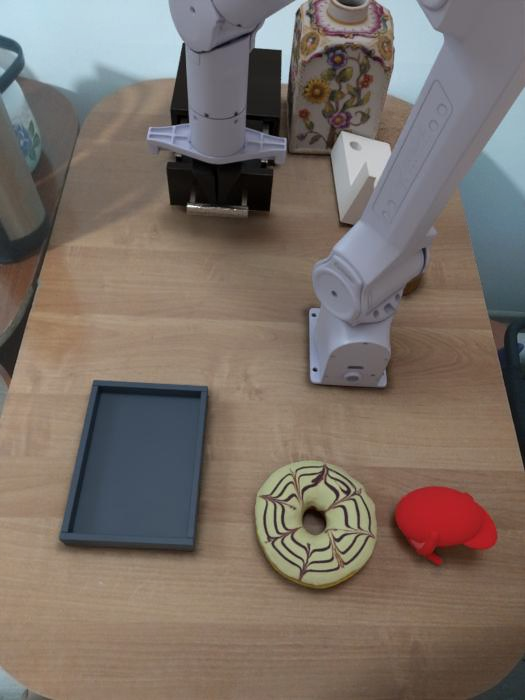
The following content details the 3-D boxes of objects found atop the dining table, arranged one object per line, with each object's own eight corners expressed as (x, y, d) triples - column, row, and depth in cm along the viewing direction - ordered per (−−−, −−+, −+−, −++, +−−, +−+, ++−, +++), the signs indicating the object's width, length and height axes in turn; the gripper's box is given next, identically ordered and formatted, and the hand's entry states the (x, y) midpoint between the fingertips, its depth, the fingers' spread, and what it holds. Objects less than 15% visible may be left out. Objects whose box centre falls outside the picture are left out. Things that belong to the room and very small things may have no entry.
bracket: (391, 233, 72) (423, 189, 65) (340, 221, 69) (369, 175, 63) (376, 164, 78) (404, 118, 72) (330, 152, 76) (355, 104, 70)
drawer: (269, 237, 67) (272, 201, 62) (165, 231, 67) (161, 194, 62) (272, 141, 77) (275, 103, 72) (181, 135, 76) (178, 96, 71)
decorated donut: (331, 451, 54) (337, 436, 51) (392, 554, 50) (404, 544, 46) (234, 498, 51) (235, 485, 48) (290, 612, 47) (295, 606, 43)
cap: (386, 557, 50) (405, 541, 44) (390, 492, 53) (407, 470, 48) (477, 574, 49) (506, 560, 44) (475, 507, 52) (502, 487, 47)
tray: (194, 550, 49) (193, 545, 47) (64, 545, 48) (58, 539, 47) (208, 395, 57) (207, 385, 55) (97, 389, 56) (93, 379, 55)
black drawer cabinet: (275, 166, 76) (280, 116, 69) (174, 159, 75) (169, 108, 69) (277, 99, 83) (281, 49, 77) (185, 93, 83) (182, 42, 76)
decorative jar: (285, 102, 83) (299, -32, 68) (363, 106, 84) (394, -26, 68) (287, 156, 77) (302, 21, 61) (371, 160, 77) (407, 28, 62)
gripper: (291, 82, 57) (279, 184, 69) (148, 69, 56) (160, 174, 68) (291, 127, 53) (277, 226, 65) (138, 114, 53) (152, 217, 64)
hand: (217, 203), depth 66 cm, fingers closed, pressing on drawer
